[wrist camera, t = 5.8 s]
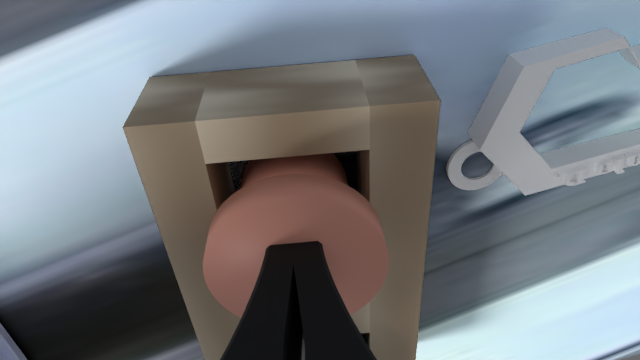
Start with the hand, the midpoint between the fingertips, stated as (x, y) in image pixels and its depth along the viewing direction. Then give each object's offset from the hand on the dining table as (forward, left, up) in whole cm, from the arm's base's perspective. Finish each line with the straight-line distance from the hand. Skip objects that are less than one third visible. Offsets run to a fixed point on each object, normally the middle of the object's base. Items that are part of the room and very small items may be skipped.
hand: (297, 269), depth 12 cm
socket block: (0, -4, -5) cm, 6 cm away
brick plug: (0, 0, -4) cm, 4 cm away
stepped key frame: (+11, +2, -6) cm, 13 cm away
